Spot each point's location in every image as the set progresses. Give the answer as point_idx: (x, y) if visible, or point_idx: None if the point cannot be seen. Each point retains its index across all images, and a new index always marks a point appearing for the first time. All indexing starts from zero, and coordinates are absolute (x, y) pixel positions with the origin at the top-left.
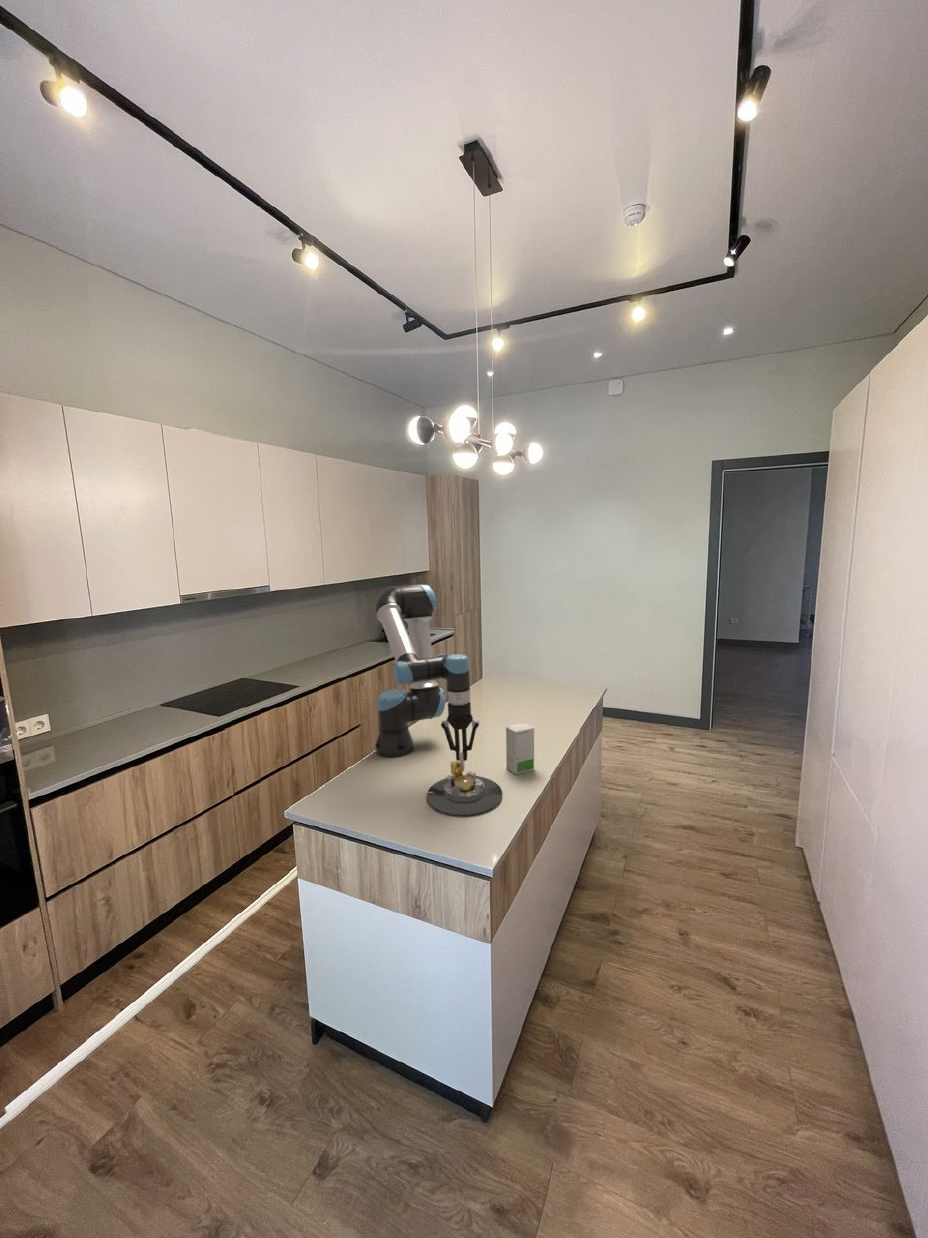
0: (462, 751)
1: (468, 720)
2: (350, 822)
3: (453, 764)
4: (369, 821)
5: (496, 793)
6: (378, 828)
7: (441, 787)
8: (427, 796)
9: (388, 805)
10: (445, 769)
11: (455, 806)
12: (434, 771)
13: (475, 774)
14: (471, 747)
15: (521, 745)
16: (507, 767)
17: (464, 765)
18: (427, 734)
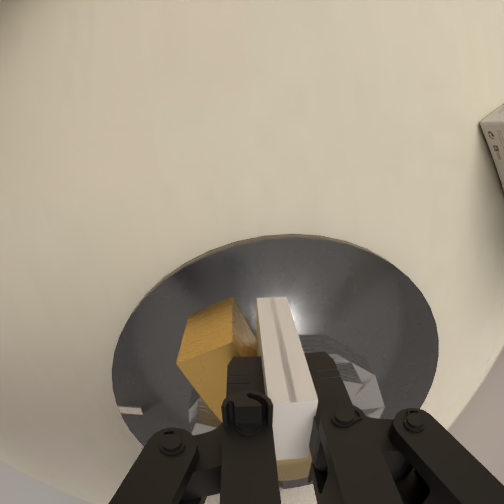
0: (302, 441)
1: None
2: (17, 464)
3: (211, 400)
4: (46, 472)
5: (413, 389)
6: (81, 493)
7: (163, 374)
8: (131, 429)
9: (38, 429)
10: (130, 126)
11: None
12: (73, 162)
13: (357, 379)
14: (409, 479)
15: None
16: (488, 135)
17: (288, 308)
18: None
